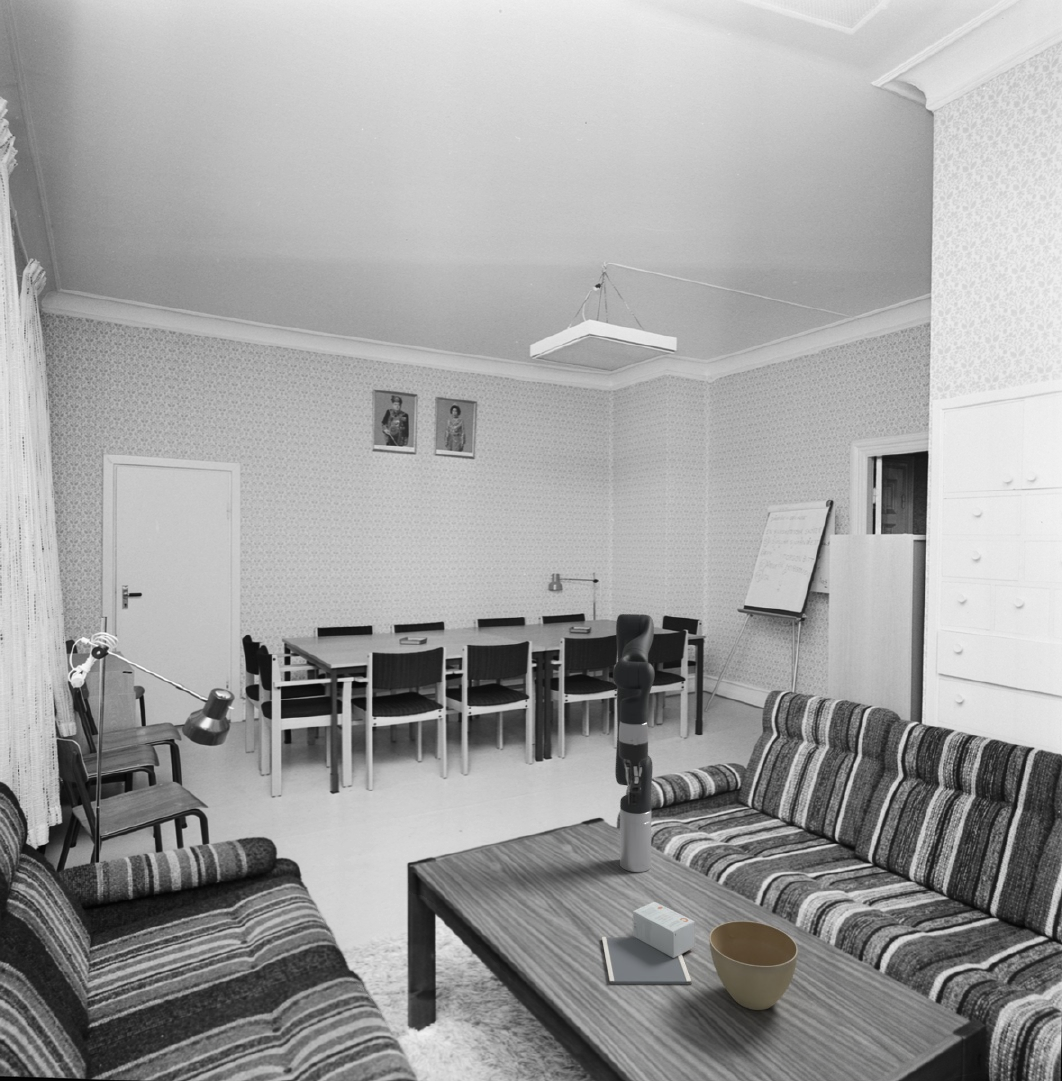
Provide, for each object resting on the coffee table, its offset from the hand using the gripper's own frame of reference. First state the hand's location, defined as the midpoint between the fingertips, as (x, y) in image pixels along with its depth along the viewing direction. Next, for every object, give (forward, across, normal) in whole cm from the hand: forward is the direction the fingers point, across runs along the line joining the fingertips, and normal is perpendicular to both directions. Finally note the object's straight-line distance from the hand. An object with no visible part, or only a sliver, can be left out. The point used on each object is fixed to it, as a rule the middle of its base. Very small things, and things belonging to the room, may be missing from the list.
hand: (633, 805), depth 194 cm
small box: (+25, +8, +2) cm, 27 cm away
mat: (+29, +20, 0) cm, 35 cm away
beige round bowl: (+29, +34, +21) cm, 49 cm away
